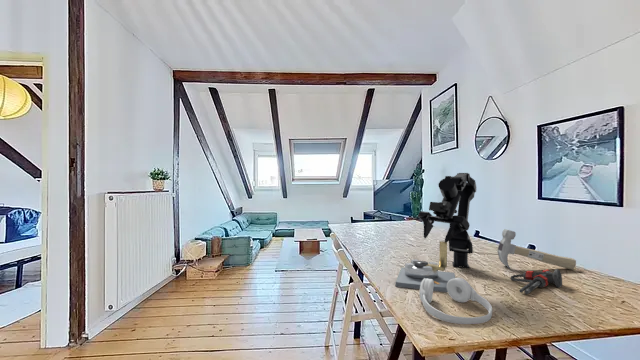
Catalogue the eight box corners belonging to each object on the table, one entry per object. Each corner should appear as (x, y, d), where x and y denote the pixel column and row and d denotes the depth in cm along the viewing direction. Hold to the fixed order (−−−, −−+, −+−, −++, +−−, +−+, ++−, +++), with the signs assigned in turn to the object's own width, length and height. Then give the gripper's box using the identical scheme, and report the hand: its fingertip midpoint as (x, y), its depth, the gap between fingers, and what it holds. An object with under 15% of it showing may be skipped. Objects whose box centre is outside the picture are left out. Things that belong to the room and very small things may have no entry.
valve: (522, 279, 130) (567, 283, 118) (494, 297, 113) (544, 303, 102) (519, 263, 130) (564, 265, 119) (491, 278, 114) (540, 283, 102)
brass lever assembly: (400, 275, 121) (400, 240, 121) (410, 268, 131) (410, 235, 131) (442, 283, 112) (442, 245, 112) (450, 274, 122) (450, 239, 122)
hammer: (573, 245, 139) (502, 228, 142) (580, 247, 135) (507, 229, 137) (563, 280, 140) (493, 262, 142) (571, 284, 135) (498, 265, 138)
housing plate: (401, 271, 133) (401, 266, 133) (454, 276, 126) (454, 272, 126) (395, 286, 114) (395, 281, 114) (457, 293, 107) (457, 288, 107)
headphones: (411, 274, 103) (438, 309, 83) (466, 273, 104) (506, 307, 85) (409, 295, 104) (436, 334, 84) (464, 294, 105) (503, 332, 86)
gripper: (418, 191, 129) (403, 225, 124) (463, 194, 114) (448, 233, 109) (431, 206, 134) (417, 239, 129) (476, 211, 120) (462, 248, 114)
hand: (434, 239), depth 120 cm, fingers open, 8 cm apart
